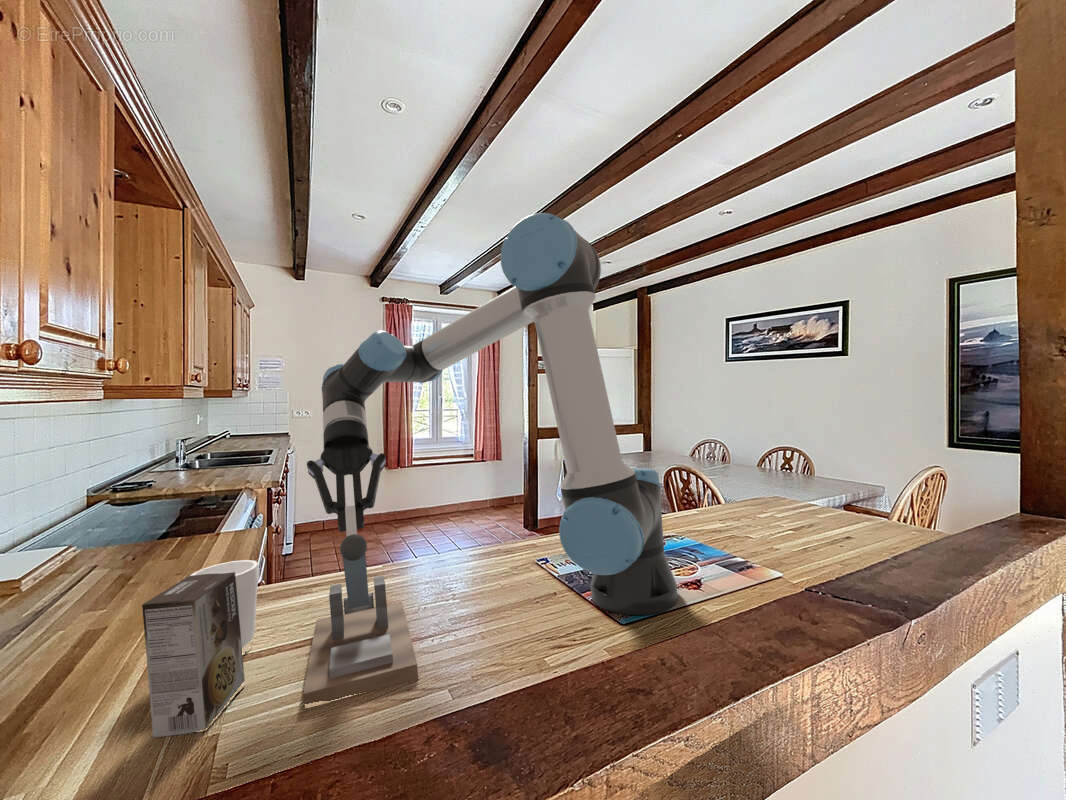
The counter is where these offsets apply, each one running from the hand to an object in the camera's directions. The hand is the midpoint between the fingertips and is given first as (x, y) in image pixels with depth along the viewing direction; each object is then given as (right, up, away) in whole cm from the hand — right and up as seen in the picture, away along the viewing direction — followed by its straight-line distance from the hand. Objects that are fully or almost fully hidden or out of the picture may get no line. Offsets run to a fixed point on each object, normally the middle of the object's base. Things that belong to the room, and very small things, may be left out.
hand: (352, 547), depth 71 cm
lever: (-1, -11, +5) cm, 12 cm away
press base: (+1, -16, +1) cm, 16 cm away
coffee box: (-15, -18, -11) cm, 26 cm away
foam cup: (-21, -18, +4) cm, 28 cm away
